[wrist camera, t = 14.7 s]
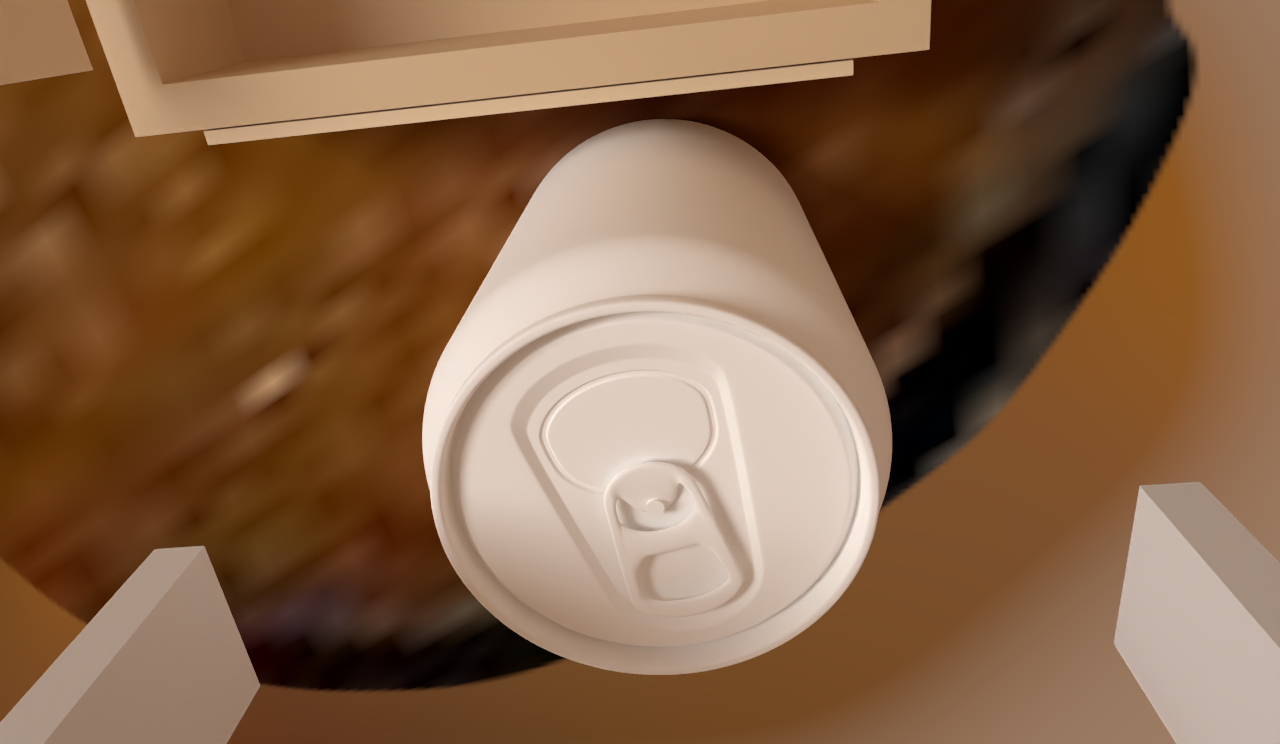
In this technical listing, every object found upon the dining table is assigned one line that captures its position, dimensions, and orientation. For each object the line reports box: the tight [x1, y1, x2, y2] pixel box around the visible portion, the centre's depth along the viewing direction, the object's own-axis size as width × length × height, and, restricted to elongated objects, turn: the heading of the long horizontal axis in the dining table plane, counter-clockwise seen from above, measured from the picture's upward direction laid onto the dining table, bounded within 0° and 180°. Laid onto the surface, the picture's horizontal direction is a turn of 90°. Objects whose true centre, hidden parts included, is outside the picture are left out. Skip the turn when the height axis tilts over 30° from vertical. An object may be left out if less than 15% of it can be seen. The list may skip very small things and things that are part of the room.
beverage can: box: [422, 119, 892, 675], centre depth 19 cm, size 8×8×12 cm
